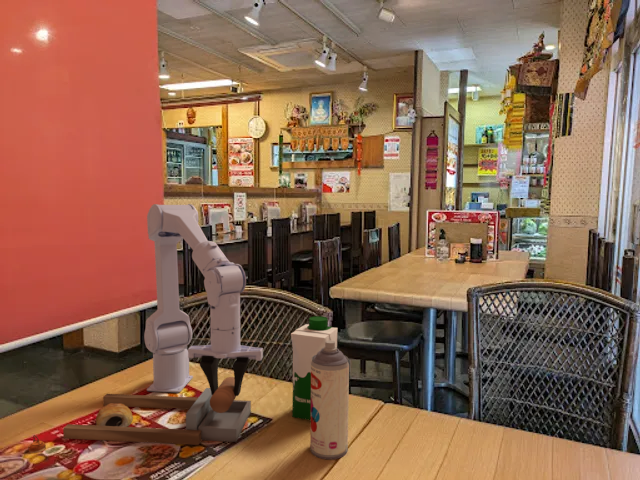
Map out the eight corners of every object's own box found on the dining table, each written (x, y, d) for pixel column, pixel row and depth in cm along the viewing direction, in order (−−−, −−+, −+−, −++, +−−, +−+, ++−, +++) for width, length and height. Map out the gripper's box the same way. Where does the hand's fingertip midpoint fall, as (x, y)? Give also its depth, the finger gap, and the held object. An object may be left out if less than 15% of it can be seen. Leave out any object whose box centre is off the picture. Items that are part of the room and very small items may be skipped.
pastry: (95, 415, 97) (95, 397, 97) (130, 409, 100) (130, 392, 100) (96, 436, 89) (95, 416, 88) (134, 429, 92) (133, 410, 91)
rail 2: (68, 434, 89) (68, 424, 89) (201, 440, 87) (201, 430, 87) (63, 438, 87) (63, 428, 87) (198, 444, 85) (198, 434, 85)
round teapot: (24, 454, 82) (24, 440, 82) (32, 445, 85) (32, 431, 85) (42, 453, 82) (41, 439, 82) (49, 444, 85) (49, 430, 85)
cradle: (217, 410, 99) (217, 399, 99) (250, 412, 99) (250, 400, 99) (198, 440, 87) (198, 427, 87) (236, 441, 87) (236, 429, 86)
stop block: (206, 410, 99) (206, 387, 99) (215, 410, 99) (215, 388, 99) (186, 439, 87) (185, 413, 87) (196, 439, 87) (196, 414, 87)
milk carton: (340, 407, 101) (341, 318, 99) (325, 426, 93) (326, 328, 91) (303, 401, 104) (304, 313, 103) (285, 418, 96) (286, 323, 94)
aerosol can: (307, 441, 87) (308, 337, 85) (342, 438, 88) (344, 335, 87) (313, 461, 80) (314, 348, 79) (351, 457, 82) (353, 346, 80)
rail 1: (107, 402, 103) (107, 393, 103) (222, 407, 101) (222, 398, 101) (103, 405, 101) (103, 396, 101) (220, 410, 99) (220, 401, 99)
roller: (221, 395, 96) (221, 376, 96) (240, 396, 96) (240, 377, 96) (209, 412, 88) (209, 392, 88) (230, 413, 88) (230, 393, 88)
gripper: (181, 331, 88) (183, 400, 89) (257, 333, 87) (257, 403, 88) (194, 321, 95) (195, 385, 96) (264, 323, 94) (265, 388, 95)
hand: (226, 393), depth 92 cm, fingers closed on roller, 4 cm apart
